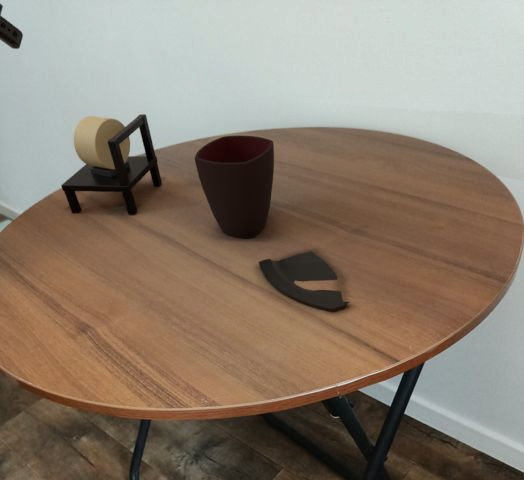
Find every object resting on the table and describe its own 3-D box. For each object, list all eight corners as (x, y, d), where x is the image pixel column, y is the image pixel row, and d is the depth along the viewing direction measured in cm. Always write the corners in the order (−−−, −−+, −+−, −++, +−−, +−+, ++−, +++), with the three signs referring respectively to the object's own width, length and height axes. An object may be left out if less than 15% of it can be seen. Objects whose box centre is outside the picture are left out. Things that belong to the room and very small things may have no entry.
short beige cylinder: (84, 177, 86) (67, 125, 81) (115, 160, 91) (101, 109, 85) (105, 181, 84) (88, 128, 79) (136, 163, 89) (122, 112, 83)
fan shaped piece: (297, 331, 59) (297, 319, 58) (256, 272, 69) (255, 262, 68) (363, 309, 61) (363, 298, 60) (314, 255, 71) (313, 245, 70)
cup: (199, 239, 77) (183, 159, 69) (244, 198, 86) (235, 123, 78) (258, 250, 73) (248, 167, 65) (299, 206, 82) (294, 128, 74)
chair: (71, 213, 88) (44, 142, 80) (103, 182, 97) (82, 115, 89) (135, 215, 85) (114, 141, 77) (163, 183, 94) (146, 114, 86)
